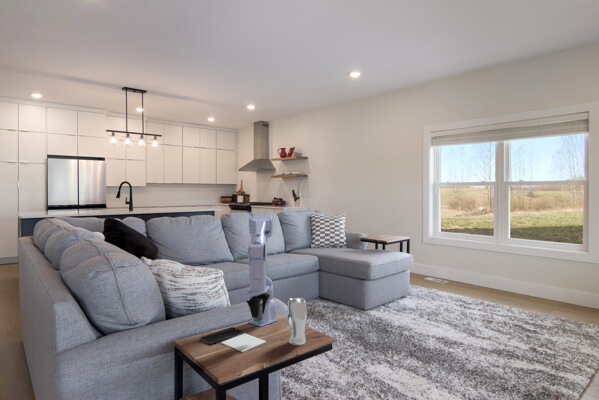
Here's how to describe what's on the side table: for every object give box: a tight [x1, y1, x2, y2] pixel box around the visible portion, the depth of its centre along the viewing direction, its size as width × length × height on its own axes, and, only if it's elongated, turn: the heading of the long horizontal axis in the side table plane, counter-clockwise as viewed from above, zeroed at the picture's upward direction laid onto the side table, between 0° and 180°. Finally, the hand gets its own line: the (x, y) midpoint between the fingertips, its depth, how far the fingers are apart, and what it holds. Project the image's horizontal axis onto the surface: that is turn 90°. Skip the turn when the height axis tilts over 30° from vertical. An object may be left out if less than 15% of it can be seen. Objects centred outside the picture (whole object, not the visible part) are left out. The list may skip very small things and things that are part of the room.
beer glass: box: [286, 297, 308, 346], centre depth 128 cm, size 7×7×15 cm
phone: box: [199, 326, 244, 346], centre depth 134 cm, size 8×1×15 cm
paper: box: [220, 333, 267, 353], centre depth 128 cm, size 11×12×1 cm
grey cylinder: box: [253, 299, 263, 325], centre depth 128 cm, size 3×3×8 cm
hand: (257, 315), depth 128 cm, fingers closed on grey cylinder, 3 cm apart
